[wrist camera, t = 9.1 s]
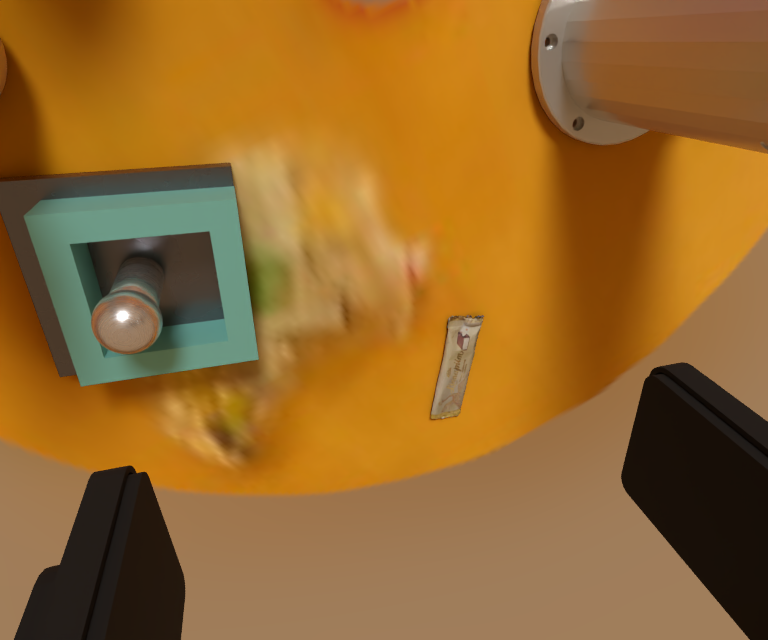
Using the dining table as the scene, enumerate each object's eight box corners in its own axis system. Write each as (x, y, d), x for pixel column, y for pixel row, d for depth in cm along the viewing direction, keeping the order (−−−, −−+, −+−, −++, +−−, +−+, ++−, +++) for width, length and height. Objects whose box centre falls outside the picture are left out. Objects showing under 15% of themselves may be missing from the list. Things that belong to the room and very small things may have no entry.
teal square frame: (234, 186, 30) (236, 199, 28) (255, 336, 35) (258, 359, 33) (40, 200, 28) (23, 215, 25) (91, 359, 33) (81, 386, 30)
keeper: (230, 162, 31) (235, 200, 23) (256, 340, 36) (266, 415, 29) (-4, 178, 28) (-81, 226, 21) (64, 368, 33) (22, 459, 26)
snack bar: (462, 415, 45) (435, 425, 43) (450, 406, 46) (424, 415, 44) (486, 315, 40) (458, 322, 39) (473, 307, 41) (444, 313, 40)
